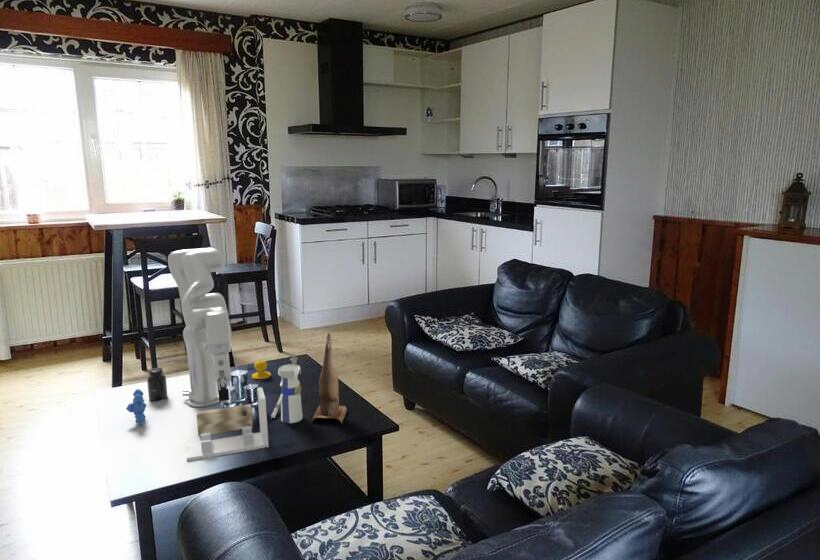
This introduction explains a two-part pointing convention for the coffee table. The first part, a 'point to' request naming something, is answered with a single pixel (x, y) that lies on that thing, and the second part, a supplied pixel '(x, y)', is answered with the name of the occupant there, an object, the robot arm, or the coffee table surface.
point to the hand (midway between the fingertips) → (223, 395)
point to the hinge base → (233, 438)
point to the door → (224, 419)
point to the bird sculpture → (329, 388)
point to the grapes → (138, 406)
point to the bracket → (276, 408)
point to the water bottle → (290, 392)
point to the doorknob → (261, 370)
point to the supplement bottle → (157, 385)
